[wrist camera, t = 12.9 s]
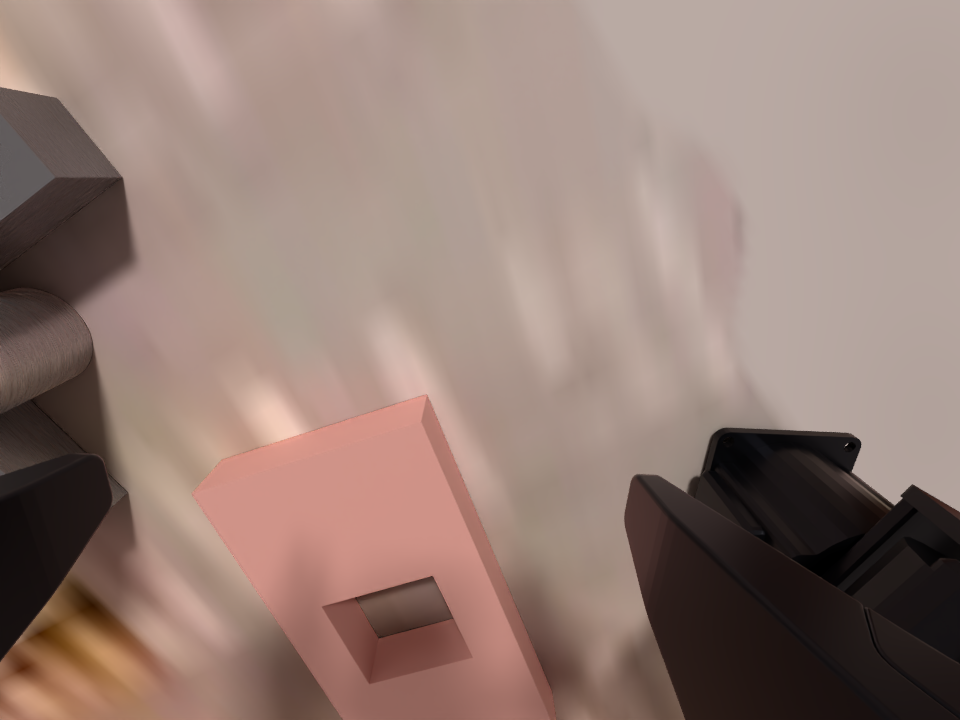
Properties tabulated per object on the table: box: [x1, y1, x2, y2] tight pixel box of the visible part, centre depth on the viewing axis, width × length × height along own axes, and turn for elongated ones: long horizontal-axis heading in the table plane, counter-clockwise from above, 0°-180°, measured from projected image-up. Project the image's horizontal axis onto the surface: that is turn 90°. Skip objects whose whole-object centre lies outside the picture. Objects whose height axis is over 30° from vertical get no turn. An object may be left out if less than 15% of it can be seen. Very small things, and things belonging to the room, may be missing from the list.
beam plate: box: [192, 394, 556, 720], centre depth 24 cm, size 20×10×2 cm, turn 19°
